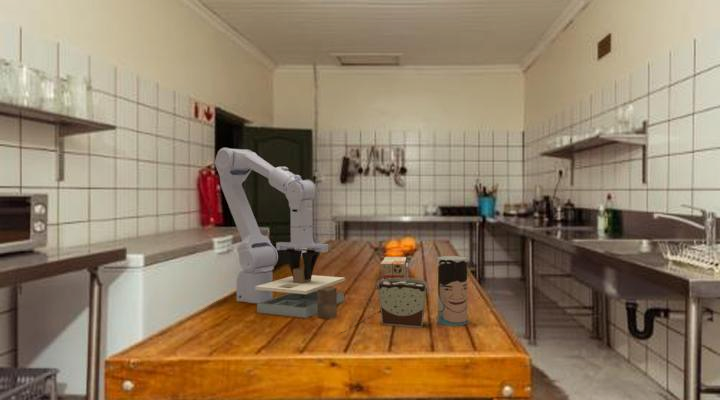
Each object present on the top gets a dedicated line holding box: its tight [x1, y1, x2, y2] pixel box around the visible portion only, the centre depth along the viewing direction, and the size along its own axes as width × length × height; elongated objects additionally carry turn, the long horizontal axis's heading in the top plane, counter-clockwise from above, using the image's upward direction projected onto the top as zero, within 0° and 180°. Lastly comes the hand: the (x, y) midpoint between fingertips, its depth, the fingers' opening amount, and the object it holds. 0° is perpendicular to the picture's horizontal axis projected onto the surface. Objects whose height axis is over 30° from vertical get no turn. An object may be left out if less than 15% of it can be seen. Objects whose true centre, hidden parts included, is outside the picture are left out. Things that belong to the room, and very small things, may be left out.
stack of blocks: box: [380, 256, 410, 280], centre depth 146 cm, size 21×6×12 cm, turn 172°
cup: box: [437, 255, 468, 327], centre depth 122 cm, size 7×7×15 cm
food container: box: [375, 277, 429, 328], centre depth 122 cm, size 12×6×10 cm, turn 71°
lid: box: [255, 266, 346, 294], centre depth 136 cm, size 15×21×4 cm
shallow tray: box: [256, 291, 345, 319], centre depth 136 cm, size 14×20×3 cm
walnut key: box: [317, 286, 338, 320], centre depth 125 cm, size 3×4×8 cm
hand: (302, 278), depth 136 cm, fingers closed on lid, 3 cm apart
